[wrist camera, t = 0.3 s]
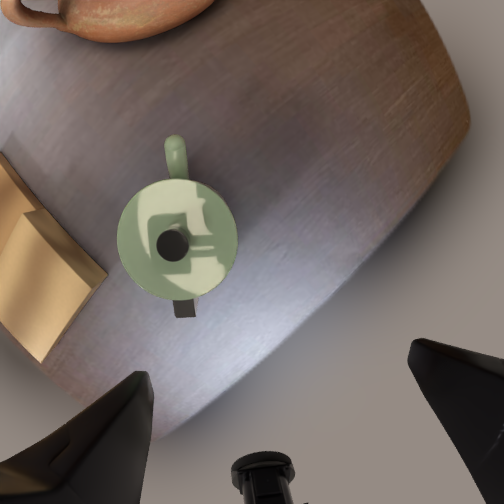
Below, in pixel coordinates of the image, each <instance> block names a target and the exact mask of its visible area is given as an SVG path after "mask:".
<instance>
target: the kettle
mask: <svg viewBox="0 0 504 504" xmlns="http://www.w3.org/2000/svg"><path fill="white" fill-rule="evenodd" d="M164 149H165V155H166V161H167V167H168V172H169V178H170V179H164V180H160V181H157V182H154V183H152V184H150V185H148V186H146V187H145V188H143V189H141V190H140V191H139V192H138V193H137V194H135V195H134V196H133V198H132V199H131V200H130V201H129V202H128V204H127V205H126V207H125V209H124V211H123V213H122V215H121V218H120V220H119V224H118V229H117V247H118V252H119V256H120V259H121V262H122V264H123V266H124V268H125V270H126V271H127V273H128V275H129V276H130V277H131V278H132V279H133V281H134V282H135V283H136V284H138V285H139V286H140V287H141V288H143V289H144V290H145V291H147V292H149V293H151V294H152V295H155V296H157V297H160V298H164V299H169V300H173V306H174V313H175V316H176V318H186V317H196V313H197V306H198V299H199V297H200V296H202V295H204V294H206V293H208V292H210V291H211V290H213V289H214V288H216V287H217V286H218V285H219V284H220V283H221V282H222V281H223V280H224V279H225V277H226V276H227V275H228V273H229V271H230V270H231V268H232V266H233V263H234V261H235V258H236V254H237V248H238V234H237V227H236V223H235V220H234V218H233V215H232V213H231V211H230V209H229V207H228V205H227V203H226V201H225V199H224V198H223V197H222V195H221V194H220V193H219V192H218V191H217V190H215V189H214V188H213V187H211V186H209V185H207V184H205V183H202V182H199V181H194V180H190V179H189V171H188V163H187V154H186V145H185V140H184V139H183V137H181V136H180V135H177V134H174V135H170V136H169V137H168V138H167V139H166V140H165V143H164Z"/></svg>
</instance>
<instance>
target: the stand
mask: <svg viewBox="0 0 504 504" xmlns="http://www.w3.org/2000/svg"><path fill="white" fill-rule="evenodd" d="M107 276H108V274H107V273H106V272H105V271H104V270H103V269H102V268H101V267H100V266H99V265H98V264H97V263H96V262H95V261H94V260H93V259H92V258H91V257H90V256H89V255H88V254H87V253H86V252H85V251H84V250H83V249H82V248H81V247H80V246H79V245H78V244H77V243H76V242H75V241H74V240H73V239H72V238H71V237H70V235H69V234H68V233H67V232H66V231H65V230H64V229H63V228H62V227H61V226H60V225H59V223H58V222H57V221H56V220H55V219H54V218H53V217H52V216H51V214H50V213H49V212H48V211H47V210H46V209H45V207H44V206H43V205H42V204H41V203H40V202H39V200H38V199H37V198H36V197H35V196H34V194H33V193H32V192H31V191H30V189H29V188H28V187H27V186H26V184H25V183H24V182H23V181H22V179H21V178H20V177H19V176H18V174H17V173H16V172H15V170H14V169H13V168H12V166H11V165H10V164H9V162H8V161H7V160H6V158H5V157H4V156H3V154H2V153H1V152H0V321H1V322H2V324H3V325H4V326H5V327H6V328H7V329H8V330H9V331H10V333H11V334H12V335H13V336H14V337H15V338H16V339H17V340H18V341H19V342H20V343H21V344H22V345H23V346H24V347H25V348H26V349H27V350H28V351H29V352H30V353H31V354H32V355H33V356H34V357H35V358H36V359H37V360H38V361H39V362H40V363H42V362H43V361H44V360H45V358H46V357H47V356H48V355H49V354H50V352H51V351H52V350H53V349H54V348H55V347H56V345H57V344H58V343H59V341H60V340H61V338H62V337H63V335H64V334H65V332H66V331H67V329H68V328H69V327H70V325H71V324H72V322H73V321H74V319H75V318H76V317H77V315H78V314H79V313H80V311H81V310H82V308H83V307H84V306H85V304H86V303H87V302H88V300H89V299H90V298H91V296H92V295H93V294H94V292H95V291H96V290H97V288H98V287H99V286H100V285H101V283H102V282H103V281H104V279H105V278H106V277H107Z"/></svg>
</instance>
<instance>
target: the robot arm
mask: <svg viewBox="0 0 504 504" xmlns="http://www.w3.org/2000/svg"><path fill="white" fill-rule="evenodd" d="M408 365H409V368H410V369H411V371H412V373H413V375H414V377H415V379H416V381H417V383H418V385H419V387H420V389H421V391H422V393H423V395H424V397H425V398H426V400H427V401H428V403H429V405H430V406H431V408H432V409H433V411H434V412H435V414H436V415H437V417H438V419H439V420H440V422H441V424H442V425H443V427H444V429H445V430H446V432H447V434H448V435H449V437H450V438H451V440H452V442H453V444H454V445H455V447H456V449H457V450H458V452H459V454H460V456H461V458H462V459H463V461H464V463H465V465H466V466H467V468H468V470H469V472H470V473H471V475H472V478H473V479H474V481H475V483H476V485H477V487H478V489H479V491H480V493H481V494H482V497H483V498H484V500H485V502H486V504H504V359H499V358H497V357H493V356H489V355H485V354H481V353H477V352H473V351H469V350H466V349H462V348H458V347H454V346H451V345H447V344H443V343H439V342H436V341H432V340H428V339H425V338H419V339H415V340H413V342H412V343H411V347H410V351H409V355H408ZM153 404H154V392H153V388H152V384H151V380H150V376H149V374H148V372H147V371H135V372H133V373H132V374H130V375H129V376H128V377H126V378H125V379H124V380H123V381H121V382H120V383H119V384H117V385H116V386H115V387H113V388H112V389H111V390H109V391H108V392H107V393H105V394H104V395H103V396H102V397H100V398H99V399H98V400H96V401H95V402H94V403H92V404H91V405H90V406H88V407H87V408H86V409H84V410H83V411H82V412H80V413H79V414H78V415H76V416H75V417H73V418H72V419H71V420H69V421H68V422H67V423H66V424H64V425H63V426H62V427H60V428H58V429H57V430H56V431H54V432H53V433H52V434H50V435H48V436H47V437H45V438H44V439H42V440H41V441H39V442H37V443H36V444H34V445H32V446H31V447H29V448H27V449H25V450H23V451H21V452H20V453H18V454H16V455H14V456H12V457H11V458H9V459H7V460H5V461H3V462H0V504H140V498H141V491H142V485H143V479H144V473H145V468H146V462H147V456H148V451H149V446H150V440H151V432H152V417H153ZM290 471H291V467H290V464H283V465H276V466H269V467H260V468H251V469H240V470H238V471H237V477H238V483H239V490H240V494H242V495H243V496H244V504H294V503H293V500H292V496H291V492H290V489H289V480H290ZM304 504H308V503H304Z"/></svg>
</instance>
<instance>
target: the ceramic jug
mask: <svg viewBox="0 0 504 504" xmlns="http://www.w3.org/2000/svg"><path fill="white" fill-rule="evenodd" d="M214 1H215V0H58V10H59V14H51V13H44V12H42V11H40V12H38V11H34V10H31V9H30V8H27V7H25V6H24V5H23V4H22V3H21V0H1V9H2V12H3V14H4V16H5V17H6V18H7V19H8V20H10V21H11V22H13V23H15V24H18V25H21V26H26V27H39V28H40V27H45V28H46V27H53V28H56V29H58V30H60V31H64V32H69V33H72V34H76V35H78V36H79V37H82V38H85V39H88V40H91V41H96V42H105V43H119V42H128V41H134V40H140V39H144V38H148V37H151V36H154V35H157V34H160V33H163V32H165V31H168V30H170V29H173V28H175V27H177V26H179V25H181V24H183V23H185V22H187V21H189V20H190V19H192V18H193V17H195V16H197V15H198V14H200V13H201V12H202V11H204V10H205V9H206V8H207V7H209V6H210V5H211V4H212V3H213V2H214Z"/></svg>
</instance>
